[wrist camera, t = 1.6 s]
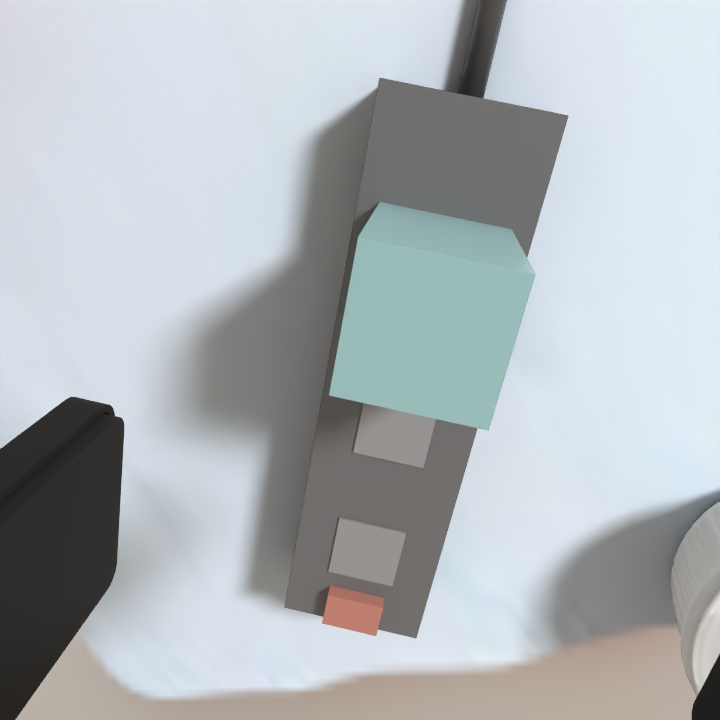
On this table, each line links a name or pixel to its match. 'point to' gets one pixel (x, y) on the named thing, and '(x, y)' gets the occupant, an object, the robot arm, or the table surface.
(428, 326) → the block
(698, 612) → the ramekin
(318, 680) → the table surface
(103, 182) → the table surface
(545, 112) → the power strip
